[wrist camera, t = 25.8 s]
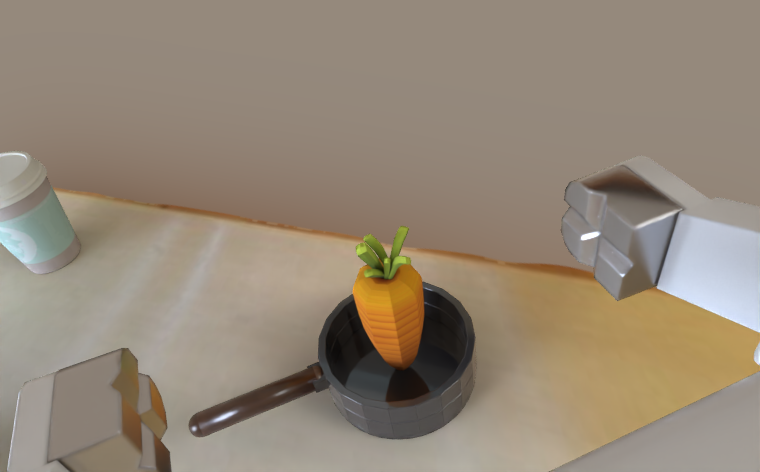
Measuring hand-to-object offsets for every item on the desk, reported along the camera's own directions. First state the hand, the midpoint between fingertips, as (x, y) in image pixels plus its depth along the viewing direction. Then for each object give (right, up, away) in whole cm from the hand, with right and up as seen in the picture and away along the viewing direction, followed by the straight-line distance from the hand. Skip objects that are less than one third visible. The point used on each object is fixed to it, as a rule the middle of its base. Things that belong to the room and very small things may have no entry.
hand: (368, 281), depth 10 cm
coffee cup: (-37, -2, +54) cm, 65 cm away
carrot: (+2, -10, +36) cm, 37 cm away
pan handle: (-9, -12, +32) cm, 36 cm away
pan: (+2, -10, +36) cm, 38 cm away
